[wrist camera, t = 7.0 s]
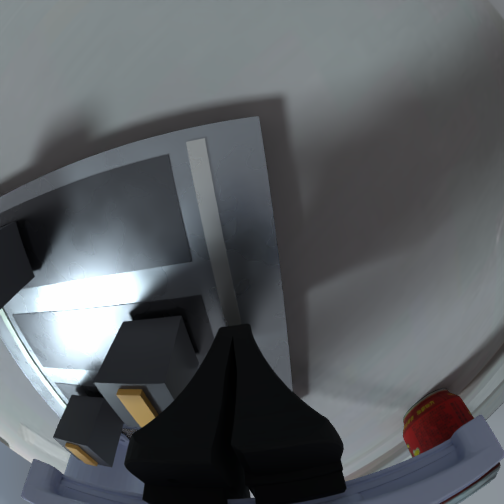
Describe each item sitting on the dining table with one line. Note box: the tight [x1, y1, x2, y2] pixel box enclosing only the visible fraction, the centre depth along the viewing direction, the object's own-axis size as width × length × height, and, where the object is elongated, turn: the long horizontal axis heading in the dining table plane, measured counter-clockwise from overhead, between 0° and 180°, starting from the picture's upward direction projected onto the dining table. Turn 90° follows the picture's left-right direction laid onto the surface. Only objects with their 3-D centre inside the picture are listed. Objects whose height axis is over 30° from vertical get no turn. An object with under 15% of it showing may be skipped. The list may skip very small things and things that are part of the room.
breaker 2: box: [53, 395, 124, 467], centre depth 13 cm, size 3×3×4 cm
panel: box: [0, 116, 293, 429], centre depth 13 cm, size 18×20×2 cm
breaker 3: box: [93, 316, 199, 428], centre depth 10 cm, size 3×3×4 cm
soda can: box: [403, 389, 500, 504], centre depth 15 cm, size 7×7×12 cm
